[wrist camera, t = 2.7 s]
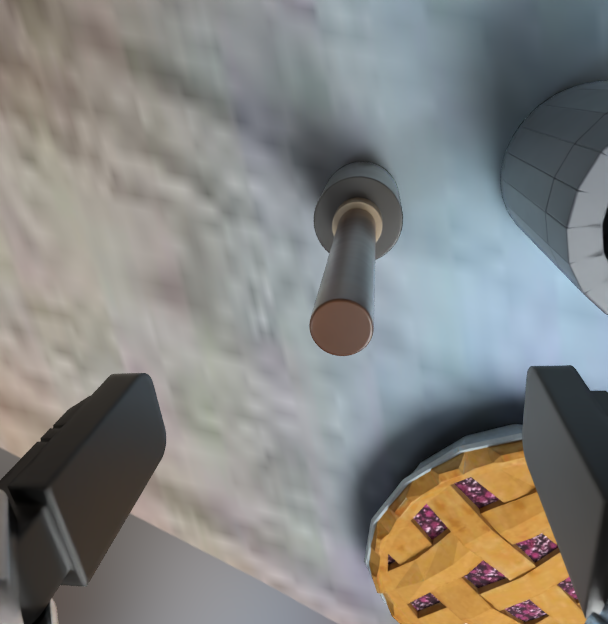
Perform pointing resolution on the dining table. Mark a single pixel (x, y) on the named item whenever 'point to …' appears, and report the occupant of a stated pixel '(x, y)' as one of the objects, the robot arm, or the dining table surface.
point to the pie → (470, 541)
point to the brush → (353, 253)
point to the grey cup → (564, 184)
